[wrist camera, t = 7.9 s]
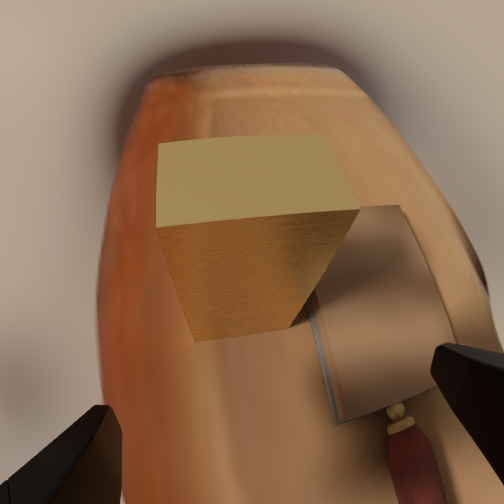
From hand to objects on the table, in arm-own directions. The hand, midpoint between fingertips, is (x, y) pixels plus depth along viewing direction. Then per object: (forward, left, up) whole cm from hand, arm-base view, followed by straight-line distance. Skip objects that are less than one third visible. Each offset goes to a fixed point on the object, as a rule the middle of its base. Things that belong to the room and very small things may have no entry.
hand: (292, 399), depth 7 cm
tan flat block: (+5, -8, -8) cm, 12 cm away
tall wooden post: (+6, 0, -8) cm, 10 cm away
